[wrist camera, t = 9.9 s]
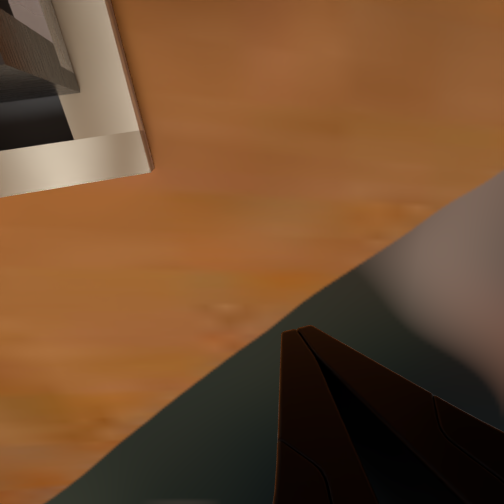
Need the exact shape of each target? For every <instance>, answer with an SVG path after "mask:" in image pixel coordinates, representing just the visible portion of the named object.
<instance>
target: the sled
mask: <svg viewBox="0 0 504 504" xmlns="http://www.w3.org/2000/svg"><path fill="white" fill-rule="evenodd" d="M8 2H9V5H10V7H11V10H12V13H13V15H14V17H13V16H11V15H10V14H8V13H7V12H5V11H4V10H2V9H1V8H0V103H5V102H13V101H21V100H28V99H36V98H44V97H52V96H59V95H67V94H75V93H81V92H80V89H79V86H78V83H77V80H76V77H75V74H74V70H73V67H72V64H71V61H70V58H69V55H68V52H67V49H66V46H65V43H64V40H63V37H62V34H61V30H60V27H59V24H58V21H57V18H56V15H55V12H54V9H53V6H52V3H51V0H8Z"/></svg>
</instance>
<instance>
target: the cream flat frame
mask: <svg viewBox="0 0 504 504" xmlns="http://www.w3.org/2000/svg"><path fill="white" fill-rule="evenodd" d="M51 3H52V6H53V9H54V12H55V15H56V18H57V21H58V24H59V27H60V30H61V34H62V37H63V40H64V43H65V46H66V49H67V52H68V55H69V58H70V61H71V64H72V67H73V70H74V74H75V77H76V80H77V83H78V86H79V89H80V92H81V93H75V94H67V95H59V96H52V97H44V98H36V99H28V100H21V101H13V102H5V103H0V197H6V196H12V195H18V194H24V193H30V192H36V191H42V190H48V189H54V188H60V187H66V186H72V185H78V184H84V183H90V182H96V181H102V180H108V179H114V178H120V177H126V176H133V175H139V174H145V173H151V172H152V170H153V169H154V164H153V160H152V156H151V153H150V149H149V145H148V141H147V137H146V133H145V130H144V126H143V122H142V118H141V114H140V110H139V107H138V103H137V99H136V95H135V91H134V87H133V84H132V80H131V76H130V72H129V68H128V64H127V61H126V57H125V53H124V49H123V45H122V41H121V38H120V34H119V30H118V26H117V22H116V18H115V15H114V11H113V7H112V3H111V0H51ZM0 8H1V9H2V10H4V11H5V12H7V13H8V14H10V15H11V16H13V17H14V15H13V13H12V10H11V7H10V5H9V2H8V0H0Z"/></svg>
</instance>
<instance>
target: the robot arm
mask: <svg viewBox="0 0 504 504" xmlns="http://www.w3.org/2000/svg"><path fill="white" fill-rule="evenodd" d="M278 415H279V416H278V443H277V464H276V478H275V492H274V499H273V504H504V432H503V431H501V430H499V429H496V428H494V427H493V426H490V425H489V424H487V423H484V422H483V421H481V420H479V419H477V418H475V417H473V416H472V415H470V414H468V413H466V412H464V411H462V410H460V409H459V408H457V407H455V406H453V405H451V404H449V403H448V402H446V401H444V400H442V399H441V398H439V397H437V396H433V395H432V394H431V393H430V392H428V391H426V390H425V389H423V388H421V387H419V386H418V385H416V384H414V383H412V382H411V381H409V380H407V379H405V378H403V377H401V376H400V375H398V374H396V373H395V372H393V371H391V370H389V369H388V368H386V367H384V366H382V365H380V364H378V363H377V362H375V361H374V360H372V359H370V358H368V357H366V356H365V355H363V354H361V353H359V352H358V351H356V350H354V349H352V348H351V347H349V346H347V345H345V344H344V343H342V342H340V341H338V340H336V339H335V338H333V337H331V336H329V335H328V334H326V333H324V332H322V331H321V330H319V329H317V328H315V327H314V326H311V325H308V326H305V327H300V328H298V329H297V330H295V329H292V330H288V331H284V332H282V334H281V357H280V386H279V414H278Z"/></svg>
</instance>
